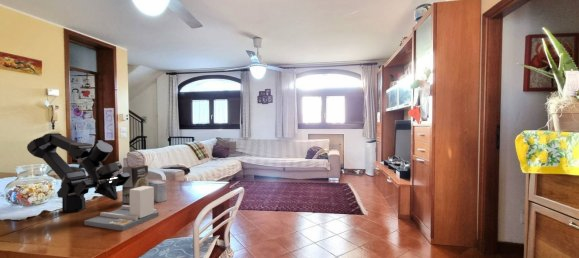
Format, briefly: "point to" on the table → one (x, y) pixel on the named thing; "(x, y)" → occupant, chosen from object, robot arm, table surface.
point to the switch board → (119, 219)
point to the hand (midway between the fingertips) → (116, 199)
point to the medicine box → (159, 190)
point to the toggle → (141, 201)
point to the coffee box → (134, 180)
